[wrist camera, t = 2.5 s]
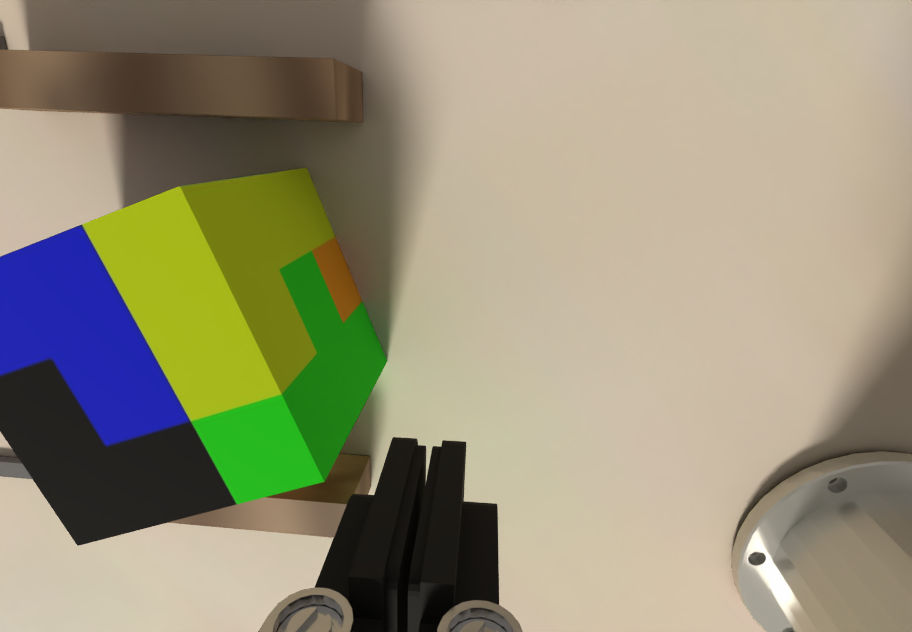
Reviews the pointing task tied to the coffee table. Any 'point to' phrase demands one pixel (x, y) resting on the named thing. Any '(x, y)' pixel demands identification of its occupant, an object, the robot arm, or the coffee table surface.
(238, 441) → the puzzle toy
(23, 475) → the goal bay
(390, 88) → the coffee table surface
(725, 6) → the coffee table surface
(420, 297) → the coffee table surface
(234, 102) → the chute
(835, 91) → the coffee table surface
